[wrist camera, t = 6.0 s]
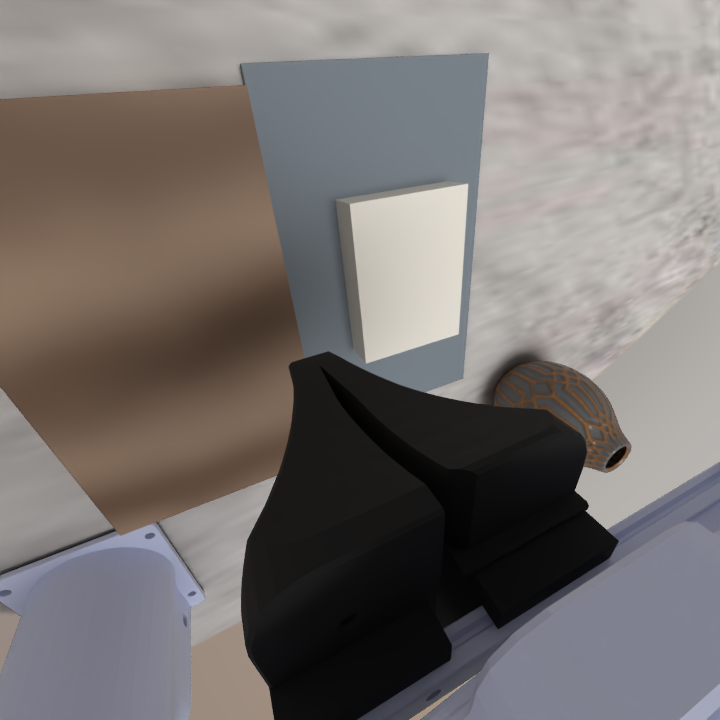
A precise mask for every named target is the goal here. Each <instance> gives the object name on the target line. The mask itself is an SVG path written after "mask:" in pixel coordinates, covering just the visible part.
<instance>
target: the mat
mask: <svg viewBox="0 0 720 720" xmlns="http://www.w3.org/2000/svg"><path fill="white" fill-rule="evenodd" d="M488 57H489V53H485V54H460V55H436V56H411V57H387V58H362V59H338V60H313V61H289V62H264V63H241V64H240V67H241V72H242V76H243V81H244V85H247V89H248V94H249V98H250V103H251V108H252V112H253V117H254V122H255V127H256V131H257V136H258V141H259V145H260V150H261V155H262V160H263V164H264V169H265V174H266V179H267V183H268V188H269V193H270V197H271V202H272V207H273V212H274V216H275V221H276V226H277V231H278V235H279V240H280V245H281V249H282V254H283V259H284V264H285V268H286V273H287V278H288V283H289V287H290V292H291V297H292V301H293V306H294V311H295V316H296V320H297V325H298V330H299V335H300V339H301V344H302V349H303V353H304V358H307V357H311V356H314V355H317V354H321V353H324V352H328V351H329V352H331V353H333V354H335V355H337V356H339V357H341V358H343V359H345V360H346V361H348V362H350V363H352V364H354V365H356V366H358V367H360V368H362V369H364V370H366V371H368V372H370V373H373V374H375V375H377V376H379V377H382V378H384V379H387V380H389V381H392V382H394V383H397V384H399V385H402V386H405V387H408V388H411V389H414V390H418V391H421V392H427V391H429V390H432V389H435V388H438V387H441V386H443V385H446V384H449V383H452V382H454V381H457V380H460V379H463V373H464V360H465V348H466V335H467V322H468V310H469V297H470V284H471V272H472V259H473V246H474V234H475V221H476V208H477V196H478V183H479V170H480V158H481V145H482V132H483V120H484V107H485V95H486V82H487V69H488ZM445 181H447V182H457V183H467V184H468V197H467V213H466V228H465V244H464V260H463V275H462V291H461V306H460V322H459V334H458V335H455V336H452V337H448V338H445V339H442V340H439V341H436V342H433V343H429V344H426V345H423V346H420V347H417V348H414V349H411V350H407V351H404V352H401V353H398V354H395V355H392V356H389V357H385V358H382V359H379V360H376V361H373V362H370V363H367V364H366V363H365V362H364V361H363V359H362V358H361V357H360V356H359V355H358V354H357V353H356V351H355V350H354V349H353V341H352V333H351V325H350V317H349V308H348V300H347V292H346V284H345V276H344V267H343V259H342V251H341V243H340V235H339V227H338V218H337V210H336V202H335V200H336V199H342V198H348V197H354V196H360V195H367V194H373V193H379V192H385V191H391V190H397V189H403V188H409V187H415V186H421V185H427V184H433V183H439V182H445Z"/></svg>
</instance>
